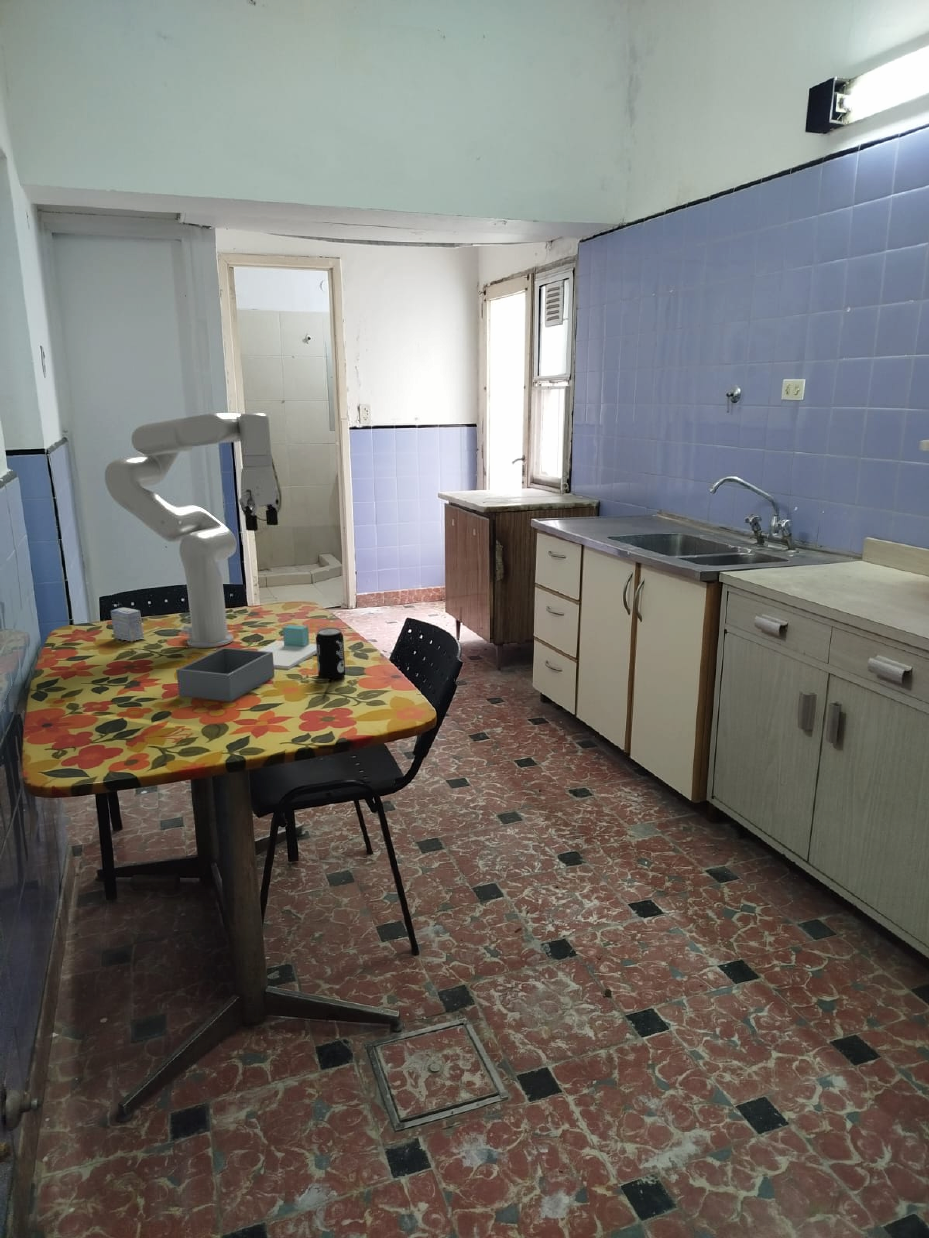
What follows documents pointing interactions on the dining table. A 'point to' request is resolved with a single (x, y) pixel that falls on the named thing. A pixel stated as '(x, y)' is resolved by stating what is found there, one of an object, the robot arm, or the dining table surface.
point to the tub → (225, 674)
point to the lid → (291, 647)
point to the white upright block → (127, 624)
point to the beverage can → (330, 654)
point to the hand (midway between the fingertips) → (262, 527)
